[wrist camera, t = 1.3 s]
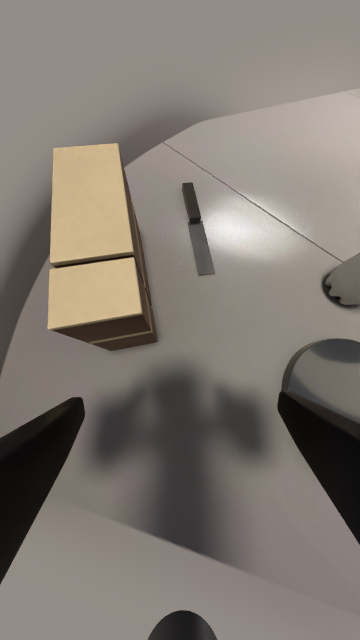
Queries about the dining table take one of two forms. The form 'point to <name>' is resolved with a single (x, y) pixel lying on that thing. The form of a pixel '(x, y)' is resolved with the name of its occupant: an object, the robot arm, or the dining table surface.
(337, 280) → the bottle
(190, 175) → the dining table surface
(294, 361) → the plate
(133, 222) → the cake
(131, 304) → the cake slice
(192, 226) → the cake knife
